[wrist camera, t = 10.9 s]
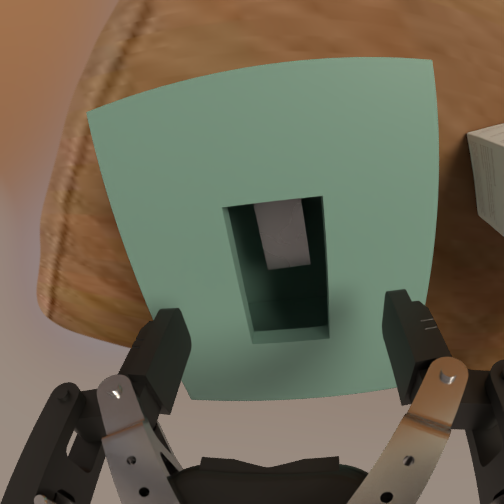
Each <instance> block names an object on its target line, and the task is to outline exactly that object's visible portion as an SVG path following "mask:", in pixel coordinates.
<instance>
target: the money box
mask: <svg viewBox="0 0 504 504" xmlns="http://www.w3.org/2000/svg"><path fill="white" fill-rule="evenodd" d="M86 113H87V118H88V122H89V127H90V131H91V135H92V139H93V143H94V147H95V151H96V155H97V159H98V163H99V166H100V170H101V174H102V177H103V181H104V184H105V188H106V191H107V194H108V198H109V201H110V204H111V207H112V211H113V214H114V217H115V220H116V223H117V226H118V229H119V232H120V235H121V238H122V241H123V244H124V246H125V249H126V252H127V255H128V257H129V260H130V263H131V266H132V268H133V271H134V273H135V276H136V279H137V281H138V284H139V286H140V289H141V291H142V294H143V296H144V299H145V301H146V304H147V306H148V308H149V311H150V313H151V315H152V318H153V320H154V319H155V317H156V315H157V313H158V311H159V310H160V309H162V308H179V309H180V310H181V312H182V315H183V318H184V320H185V323H186V326H187V328H188V331H189V334H190V336H191V342H192V347H191V352H190V355H189V358H188V361H187V364H186V367H185V370H184V373H183V376H182V379H181V380H182V382H183V384H184V386H185V388H186V390H187V392H188V394H189V396H190V398H191V399H192V400H219V401H262V400H288V399H305V398H318V397H330V396H338V395H348V394H356V393H364V392H371V391H378V390H384V389H391V388H396V387H397V385H396V381H395V377H394V374H393V370H392V366H391V363H390V359H389V356H388V352H387V349H386V346H385V342H384V339H383V334H382V318H383V309H384V299H385V293H386V291H392V290H400V289H406V291H407V293H408V295H409V297H410V299H411V301H420V302H421V303H423V304H424V305H425V303H426V297H427V292H428V286H429V279H430V273H431V266H432V258H433V250H434V242H435V232H436V220H437V206H438V186H439V133H438V113H437V99H436V89H435V79H434V71H433V63H432V60H426V59H412V58H389V57H349V58H327V59H312V60H301V61H291V62H282V63H274V64H267V65H260V66H253V67H247V68H241V69H235V70H230V71H225V72H220V73H215V74H210V75H206V76H201V77H197V78H193V79H189V80H185V81H181V82H177V83H173V84H169V85H166V86H162V87H159V88H155V89H152V90H149V91H145V92H142V93H139V94H136V95H133V96H130V97H127V98H124V99H121V100H118V101H115V102H112V103H110V104H107V105H104V106H102V107H99V108H96V109H94V110H91V111H89V112H86ZM297 198H301V200H302V206H303V212H304V219H305V225H306V232H307V239H308V247H309V255H310V263H311V264H309V265H302V266H295V267H287V268H280V269H272V270H268V268H267V263H266V259H265V254H264V250H263V245H262V241H261V236H260V232H259V227H258V223H257V218H256V214H255V210H254V205H253V203H262V202H270V201H279V200H288V199H297Z"/></svg>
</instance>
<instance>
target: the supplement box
mask: <svg viewBox="0 0 504 504" xmlns="http://www.w3.org/2000/svg"><path fill="white" fill-rule="evenodd" d="M467 139H468V144H469V150H470V156H471V162H472V169H473V176H474V184H475V193H476V203H477V211H478V215H479V216H480V217H481V218H482V219H483V220H485V221H486V222H487V223H488V224H489V225H491V226H492V227H493V228H494V229H495V230H496V231H498V232H499V233H500V234H501V235H502V236H503V237H504V123H503V124H499V125H495V126H491V127H487V128H483V129H480V130H476V131H472V132H468V133H467Z"/></svg>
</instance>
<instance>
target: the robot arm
mask: <svg viewBox="0 0 504 504" xmlns="http://www.w3.org/2000/svg"><path fill="white" fill-rule="evenodd" d="M382 334H383V339H384V342H385V346H386V349H387V352H388V356H389V359H390V363H391V366H392V370H393V374H394V377H395V381H396V385H397V388H398V392H399V396H400V400H401V404H402V405H408V404H411V406H410V408H409V410H408V412H407V414H405V415H404V417H403V419H402V420H401V422H400V424H399V425H398V428H397V429H396V431H395V432H394V434H393V436H392V438H391V439H390V441H389V443H388V444H387V446H386V448H385V450H384V451H383V453H382V454H381V456H380V457H379V459H378V460H377V462H376V463H375V465H374V466H373V468H372V469H371V471H370V472H369V473H367V472H365V471H363V470H361V469H358V468H356V467H352V466H348V465H342V464H339V456H337V457H326V458H314V459H302V460H299V461H295V462H291V463H287V464H283V465H279V466H274V467H262V466H258V465H254V464H250V463H246V462H242V461H238V460H235V459H221V458H208V457H202V459H201V464H200V465H197V466H193V467H190V468H186V469H183V468H182V466H181V465H180V463H179V462H178V461H177V459H176V457H175V455H174V453H173V451H172V449H171V447H170V445H169V443H168V441H167V439H166V437H165V435H164V433H163V430H162V428H161V426H160V424H159V422H158V421H157V419H158V416H159V414H167V415H170V413H171V410H172V407H173V404H174V401H175V398H176V395H177V392H178V388H179V385H180V382H181V379H182V376H183V373H184V370H185V367H186V364H187V361H188V358H189V355H190V352H191V347H192V342H191V336H190V334H189V331H188V328H187V326H186V323H185V320H184V318H183V315H182V312H181V310H180V309H179V308H162V309H160V310H159V311H158V313H157V315H156V317H155V319H154V321H149V322H148V323H147V324H146V325H145V326H144V327H143V328H142V329H141V330H140V332H139V334H138V336H137V338H136V341H135V342H134V343H133V345H132V348H131V349H130V351H129V353H128V355H127V357H126V359H125V361H124V363H123V365H122V367H121V369H120V371H119V373H118V375H113V376H110V377H108V378H106V379H105V380H104V381H102V383H101V384H100V385H99V387H98V389H93V390H87V391H80V389H79V388H78V387H77V386H76V385H75V384H74V383H70V382H68V383H63V384H61V385H59V386H58V387H56V388H55V389H54V391H53V392H52V394H51V395H50V397H49V399H48V401H47V403H46V405H45V407H44V409H43V411H42V412H41V414H40V416H39V418H38V420H37V422H36V424H35V426H34V428H33V430H32V432H31V434H30V436H29V439H28V441H27V443H26V445H25V447H24V449H23V452H22V454H21V456H20V458H19V460H18V463H17V465H16V467H15V469H14V472H13V474H12V476H11V479H10V481H9V484H8V486H7V489H6V491H5V494H4V496H3V499H2V502H1V504H90V502H91V500H92V496H93V493H94V490H95V487H96V484H97V481H98V477H99V474H100V471H101V468H102V465H103V462H104V459H105V456H106V458H107V462H108V465H109V468H110V471H111V475H112V478H113V481H114V484H115V486H116V489H117V492H118V495H119V497H120V500H121V503H122V504H416V502H417V500H418V499H419V497H420V495H421V494H422V492H423V490H424V488H425V486H426V484H427V483H428V481H429V479H430V477H431V475H432V473H433V471H434V469H435V467H436V465H437V463H438V461H439V459H440V456H441V454H442V452H443V450H444V448H445V445H446V443H447V441H448V438H449V436H450V433H451V429H465V431H466V436H467V439H468V444H469V448H470V452H471V456H472V461H473V466H474V471H475V476H476V481H477V487H478V493H479V499H480V504H504V360H500V361H498V362H496V363H495V364H494V365H493V366H492V368H491V370H490V371H481V370H469V369H467V367H466V366H465V365H464V363H463V362H461V361H460V360H458V359H456V358H453V357H452V356H451V354H450V352H449V350H448V347H447V345H446V343H445V341H444V339H443V337H442V335H441V333H440V331H439V329H438V328H437V324H436V322H435V320H433V317H432V315H431V313H430V311H429V309H428V308H427V307H426V306H425V305H424V304H423V303H421V302H420V301H411V299H410V297H409V295H408V293H407V291H406V289H400V290H392V291H386V293H385V299H384V309H383V318H382ZM73 431H75V432H76V433H77V436H76V439H75V441H74V443H73V446H72V448H71V451H70V453H69V456H67V453H66V448H67V445H68V443H69V440H70V438H71V436H72V433H73Z"/></svg>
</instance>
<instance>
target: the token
mask: <svg viewBox="0 0 504 504" xmlns="http://www.w3.org/2000/svg"><path fill="white" fill-rule="evenodd" d="M253 205H254V210H255V214H256V218H257V223H258V227H259V232H260V236H261V241H262V245H263V250H264V254H265V259H266V263H267V268H268V270H272V269H280V268H287V267H295V266H302V265H309V264H311V263H310V255H309V247H308V239H307V232H306V225H305V219H304V212H303V206H302V200H301V198H297V199H288V200H279V201H270V202H262V203H253Z"/></svg>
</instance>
